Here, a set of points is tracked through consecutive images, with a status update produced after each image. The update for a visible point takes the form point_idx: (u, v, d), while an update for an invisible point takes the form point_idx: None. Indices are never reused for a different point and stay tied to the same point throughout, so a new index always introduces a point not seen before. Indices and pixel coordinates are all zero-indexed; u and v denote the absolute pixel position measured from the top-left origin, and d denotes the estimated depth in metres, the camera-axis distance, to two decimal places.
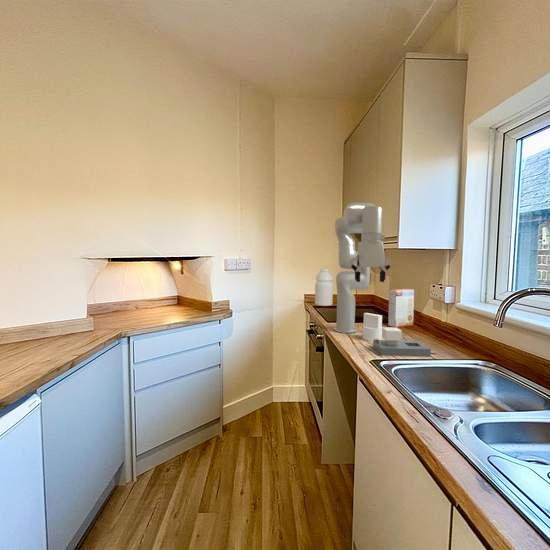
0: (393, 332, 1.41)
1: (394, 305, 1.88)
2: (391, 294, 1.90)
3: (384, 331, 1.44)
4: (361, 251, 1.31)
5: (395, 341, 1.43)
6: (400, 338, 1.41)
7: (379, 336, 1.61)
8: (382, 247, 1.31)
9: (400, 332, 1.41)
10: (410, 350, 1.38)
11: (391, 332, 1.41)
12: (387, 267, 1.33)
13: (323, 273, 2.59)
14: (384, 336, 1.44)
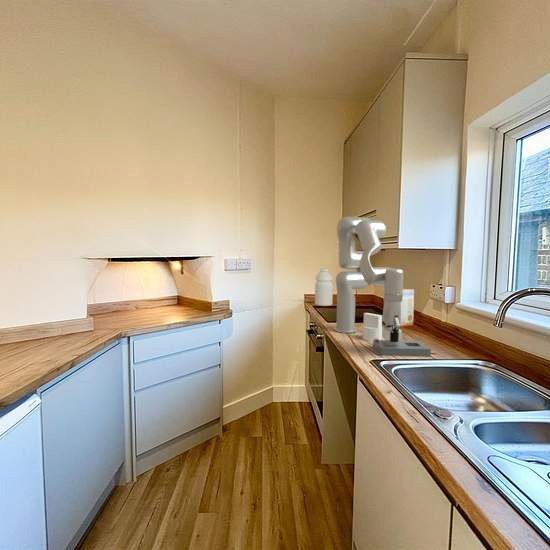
0: None
1: None
2: None
3: (384, 331, 1.44)
4: (400, 312, 1.39)
5: None
6: (400, 338, 1.41)
7: (379, 336, 1.61)
8: None
9: (400, 332, 1.41)
10: (410, 350, 1.38)
11: None
12: None
13: (323, 273, 2.59)
14: (384, 336, 1.44)
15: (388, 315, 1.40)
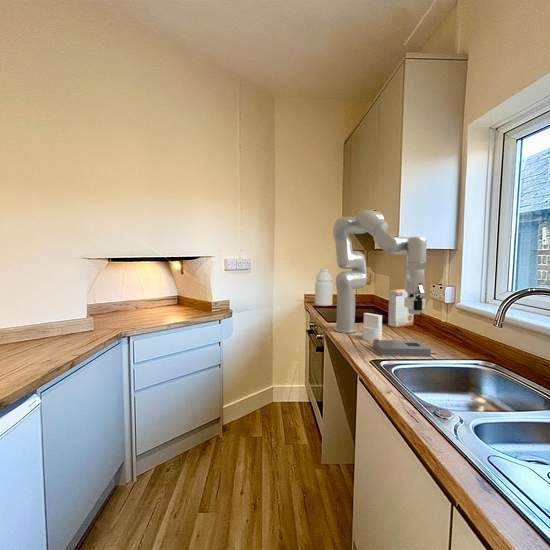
0: None
1: (394, 305, 1.88)
2: (391, 294, 1.90)
3: (407, 300, 1.43)
4: None
5: (418, 310, 1.41)
6: (424, 306, 1.40)
7: (379, 336, 1.61)
8: None
9: (424, 300, 1.40)
10: (410, 350, 1.38)
11: (414, 300, 1.40)
12: (412, 293, 1.48)
13: (323, 273, 2.59)
14: (407, 305, 1.42)
15: (411, 283, 1.39)
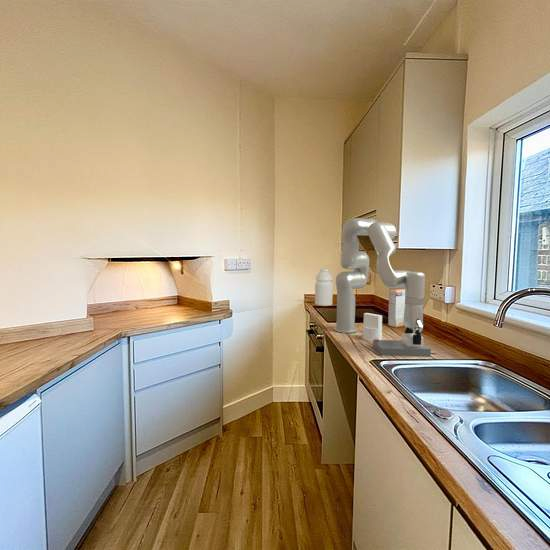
0: None
1: (394, 305, 1.88)
2: (391, 294, 1.90)
3: (405, 337, 1.44)
4: (422, 315, 1.39)
5: None
6: (421, 344, 1.41)
7: (379, 336, 1.61)
8: None
9: (421, 338, 1.41)
10: (410, 350, 1.38)
11: (412, 338, 1.41)
12: None
13: (323, 273, 2.59)
14: (405, 342, 1.44)
15: (410, 318, 1.40)
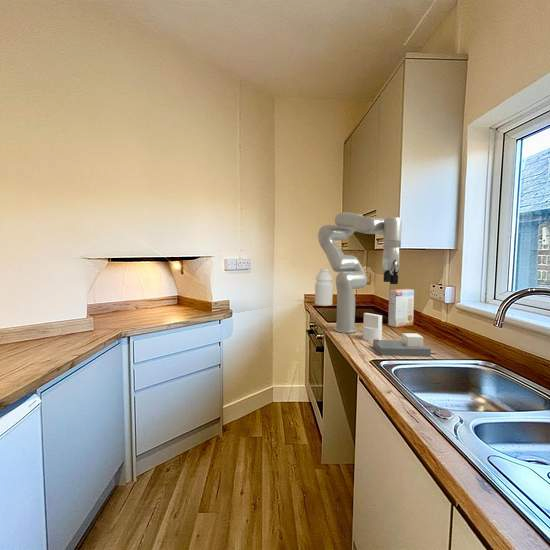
0: (414, 338, 1.41)
1: (394, 305, 1.88)
2: (391, 294, 1.90)
3: (405, 337, 1.44)
4: None
5: None
6: (421, 344, 1.41)
7: (379, 336, 1.61)
8: None
9: (421, 338, 1.41)
10: (410, 350, 1.38)
11: (412, 338, 1.41)
12: None
13: (323, 273, 2.59)
14: (405, 342, 1.44)
15: (387, 260, 1.49)
